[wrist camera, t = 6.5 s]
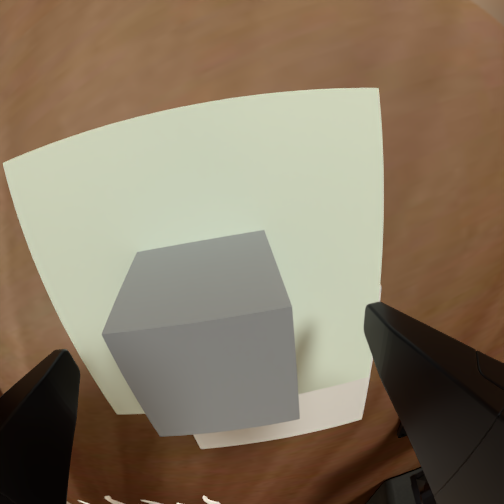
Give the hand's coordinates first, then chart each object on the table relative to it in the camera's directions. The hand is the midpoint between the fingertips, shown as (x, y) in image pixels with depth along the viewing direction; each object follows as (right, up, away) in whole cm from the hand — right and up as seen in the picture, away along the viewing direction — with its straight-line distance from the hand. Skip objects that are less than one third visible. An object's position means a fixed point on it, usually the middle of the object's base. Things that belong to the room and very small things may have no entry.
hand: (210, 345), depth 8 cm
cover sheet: (0, +1, +3) cm, 3 cm away
